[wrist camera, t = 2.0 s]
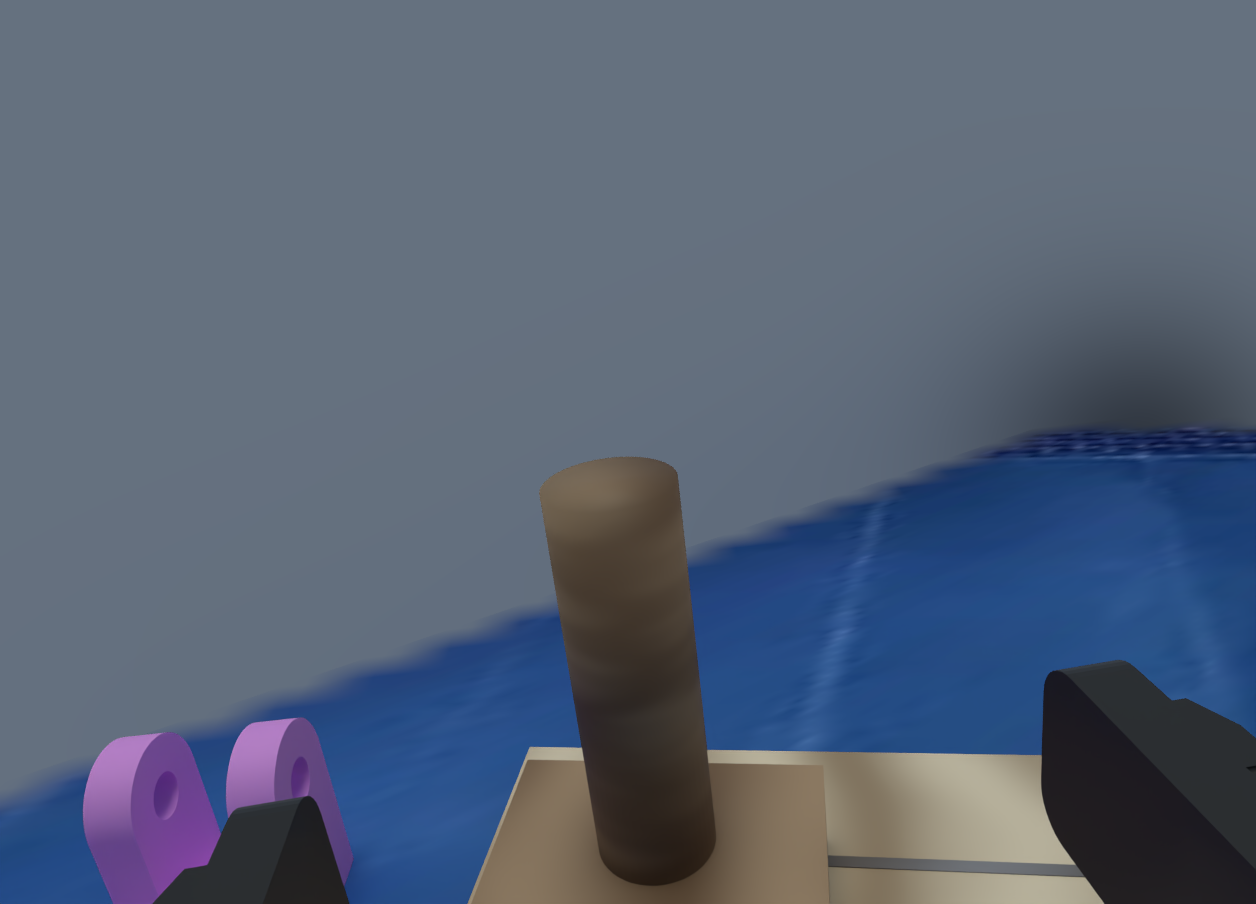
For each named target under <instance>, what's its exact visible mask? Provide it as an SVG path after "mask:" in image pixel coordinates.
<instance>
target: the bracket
mask: <svg viewBox="0 0 1256 904" xmlns="http://www.w3.org/2000/svg"><path fill="white" fill-rule="evenodd" d="M303 796H311V797H312V798H313V799H314V800H315V801H316V803H317V805H318V807H319V809H320V812H321V815H322V818H323V821H324V824H325V828H326V831H327V834H328V837H329V840H330V844H331V847H332V850H333V853H334V856H335V860H336V863H337V866H338V869H339V872H340V875H341V879H342V882H343V885H344V886H345V883H346V880H347V877H348V874H349V871H350V868H351V865H352V862H353V859H354V858H353V855H352V852H351V848H350V845H349V841H348V838H347V835H346V831H345V828H344V824H343V821H342V817H341V814H340V811H339V807H338V804H337V800H336V797H335V794H334V790H333V787H332V783H331V780H330V777H329V773H328V770H327V766H326V763H325V760H324V756H323V753H322V749H321V746H320V743H319V739H318V736H317V734H316V731H315V730H314V728H313V726H312V725H311V723H310V722H309V721H308V720H306V719H304V718H293V719H284V720H275V721H266V722H257V723H252V724H250V725H248V726H247V727H246V728H245V729H244V730H243V731H242V733H241V734H240V736H239V737H238V739H237V741H236V743H235V746H234V749H233V752H232V755H231V758H230V763H229V768H228V774H227V785H226V802H227V813H228V818H229V817H230V815H231V814H232V812H233V811H234V810H235V809H237V808H240V807H245V806H251V805H256V804H262V803H268V802H274V801H280V800H286V799H292V798H298V797H303ZM83 823H84V830H85V835H86V839H87V842H88V845H89V848H90V850H91V852H92V855H93V857H94V859H95V862H96V864H97V866H98V869H99V871H100V873H101V876H102V878H103V880H104V883H105V885H106V888H107V890H108V892H109V895H110V897H111V899H112V902H113V904H152V903H153V902H154V901H155V900H156V899H157V898H158V897H159V896H160V895H161V894H162V893H163V891H164V890H165V889H166V888H167V887H168V886H169V885H170V884H171V883H172V882H173V881H174V880H175V878H176V877H177V876H178V875H179V874H180V873H181V872H182V871H183V870H184V869H187V868H193V867H198V866H204V865H207V864H208V862H209V860H210V858H211V855H212V853H213V851H214V849H215V847H216V844H217V842H218V840H219V838H220V836H221V833H220V830H219V827H218V825H217V822H216V819H215V816H214V813H213V811H212V808H211V805H210V802H209V799H208V797H207V794H206V791H205V788H204V785H203V783H202V780H201V777H200V774H199V771H198V768H197V766H196V763H195V760H194V757H193V755H192V752H191V750H190V748H189V746H188V744H187V743H186V741H185V740H184V739H183V738H182V737H181V736H179V735H178V734H175V733H172V732H166V733H157V734H148V735H140V736H130V737H122V738H118V739H116V740H114V741H113V742H111V743H110V744H109V745H107V746H106V747H105V749H104V750H103V751H102V752H101V753H100V755H99V756H98V758H97V760H96V762H95V763H94V765H93V768H92V770H91V772H90V775H89V778H88V782H87V785H86V790H85V795H84V804H83Z"/></svg>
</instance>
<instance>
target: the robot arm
mask: <svg viewBox="0 0 1256 904" xmlns="http://www.w3.org/2000/svg"><path fill="white" fill-rule="evenodd" d="M1041 790H1042V797H1043V802H1044V806H1045V810H1046V813H1047V816H1048V819H1049V821H1050V824H1051V826H1052V829H1053V831H1054V833H1055V835H1056V837H1057V838H1058V840H1059V842H1060V843H1061V845H1062V846H1063V848H1064V849H1065V851H1066V852H1067V853H1068V855H1069V856H1070V857H1071V859H1072V860H1073V862H1074V863H1075V864H1076V866H1077V867H1078V868H1079V870H1080V871H1081V872H1082V874H1083V875H1084V877H1085V878H1086V879H1087V881H1088V882H1089V883H1090V885H1091V886H1092V888H1093V889H1094V890H1095V892H1096V893H1097V894H1098V896H1099V897H1100V898H1101V900H1102V901H1103V903H1104V904H1256V738H1255V737H1254V736H1252V735H1251V734H1250V733H1249V732H1248V731H1247V730H1245V729H1244V728H1243V727H1242V726H1241V725H1239V724H1237V723H1235V722H1233V721H1231V720H1229V719H1227V718H1225V717H1223V716H1221V715H1219V714H1217V713H1215V712H1213V711H1211V710H1209V709H1207V708H1205V707H1203V706H1201V705H1199V704H1197V703H1195V702H1192V701H1190V700H1188V699H1186V698H1185V699H1179V700H1173V701H1172V700H1171V699H1169V698H1168V697H1167V696H1166V695H1165V694H1164V693H1163V692H1162V691H1161V690H1159V689H1158V688H1157V687H1156V686H1155V685H1154V684H1153V683H1152V682H1151V681H1149V680H1148V679H1147V678H1146V677H1145V676H1144V675H1143V674H1142V673H1141V672H1139V671H1138V670H1137V669H1136V668H1135V667H1134V666H1132V665H1131V664H1130V663H1128V662H1126V661H1122V660H1115V661H1109V662H1103V663H1097V664H1091V665H1085V666H1079V667H1073V668H1068V669H1062V670H1056V671H1052V672H1050V673H1049V675H1048V676H1047V678H1046V680H1045V685H1044V700H1043V732H1042V764H1041ZM152 904H349V901H348V898H347V895H346V891H345V888H344V885H343V882H342V879H341V875H340V872H339V869H338V866H337V863H336V860H335V856H334V853H333V850H332V847H331V844H330V840H329V837H328V834H327V831H326V828H325V824H324V821H323V818H322V815H321V812H320V809H319V807H318V805H317V803H316V801H315V800H314V799H313V798H312V797H311V796H303V797H298V798H292V799H286V800H280V801H274V802H268V803H262V804H256V805H251V806H245V807H240V808H237V809H235V810H234V811H233V812H232V814H231V815H230V817H229V818H228V820H227V822H226V825H225V827H224V829H223V831H222V833H221V836H220V838H219V840H218V842H217V844H216V847H215V849H214V851H213V853H212V855H211V858H210V860H209V862H208V864H207V865H204V866H198V867H193V868H187V869H184V870H183V871H182V872H181V873H180V874H179V875H178V876H177V877H176V878H175V880H174V881H173V882H172V883H171V884H170V885H169V886H168V887H167V888H166V889H165V890H164V891H163V893H162V894H161V895H160V896H159V897H158V898H157V899H156V900H155V901H154V902H153V903H152Z"/></svg>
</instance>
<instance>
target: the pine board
mask: <svg viewBox="0 0 1256 904" xmlns="http://www.w3.org/2000/svg"><path fill="white" fill-rule="evenodd" d="M707 754H708V763H732V764H784V765H823V770H824V789H825V809H826V828H827V848H828V870H829V891H830V904H1104V903H1103V901H1102V900H1101V898H1100V897H1099V896H1098V894H1097V893H1096V892H1095V890H1094V889H1093V888H1092V886H1091V885H1090V883H1089V882H1088V881H1087V879H1086V878H1085V877H1084V875H1083V874H1082V872H1081V871H1080V870H1079V868H1078V867H1077V866H1076V864H1075V863H1074V862H1073V860H1072V859H1071V857H1070V856H1069V855H1068V853H1067V852H1066V851H1065V849H1064V848H1063V846H1062V845H1061V843H1060V842H1059V840H1058V838H1057V837H1056V835H1055V833H1054V831H1053V829H1052V826H1051V824H1050V821H1049V819H1048V816H1047V813H1046V810H1045V806H1044V802H1043V797H1042V790H1041V764H1042V755H985V754H924V753H862V752H801V751H740V750H707ZM527 760H575V761H584V758H583V752H582V748H556V747H530V748H529V750H528V753H527V755H526V758H525V761H524V763H523V766H522V768H521V771H520V773H519V776H518V778H517V781H516V783H515V786H514V788H513V791H512V793H511V796H510V798H509V801H508V803H507V806H506V808H505V811H504V813H503V816H502V818H501V821H500V824H499V826H498V829H497V831H496V834H495V836H494V839H493V841H492V844H491V846H490V849H489V851H488V854H487V856H486V859H485V861H484V864H483V866H482V869H481V871H480V874H479V876H478V879H477V881H476V884H475V886H474V889H473V892H472V894H471V897H470V899H469V902H468V904H471V903H472V900H473V897H474V895H475V892H476V890H477V887H478V885H479V882H480V880H481V877H482V875H483V872H484V869H485V867H486V864H487V862H488V859H489V857H490V854H491V852H492V849H493V847H494V844H495V841H496V839H497V836H498V834H499V831H500V829H501V826H502V824H503V821H504V819H505V816H506V813H507V811H508V808H509V806H510V803H511V801H512V798H513V796H514V793H515V791H516V788H517V785H518V783H519V780H520V778H521V775H522V773H523V770H524V768H525V765H526V763H527Z"/></svg>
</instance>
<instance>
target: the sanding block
mask: <svg viewBox="0 0 1256 904" xmlns="http://www.w3.org/2000/svg"><path fill="white" fill-rule="evenodd" d="M539 494H540V501H541V507H542V513H543V518H544V524H545V530H546V536H547V542H548V548H549V554H550V560H551V566H552V572H553V578H554V584H555V590H556V596H557V602H558V608H559V614H560V620H561V626H562V632H563V638H564V644H565V650H566V656H567V662H568V668H569V674H570V680H571V686H572V692H573V698H574V704H575V710H576V716H577V722H578V728H579V734H580V740H581V746H582V752H583V758H584V761H575V760H527V763H526V765H525V768H524V770H523V773H522V775H521V778H520V780H519V783H518V785H517V788H516V791H515V793H514V796H513V798H512V801H511V803H510V806H509V808H508V811H507V813H506V816H505V819H504V821H503V824H502V826H501V829H500V831H499V834H498V836H497V839H496V841H495V844H494V847H493V849H492V852H491V854H490V857H489V859H488V862H487V864H486V867H485V869H484V872H483V875H482V877H481V880H480V882H479V885H478V887H477V890H476V892H475V895H474V897H473V900H472V903H471V904H830V891H829V870H828V848H827V828H826V809H825V789H824V770H823V765H784V764H732V763H708V754H707V745H706V735H705V726H704V717H703V707H702V698H701V688H700V679H699V670H698V660H697V651H696V642H695V632H694V623H693V614H692V604H691V595H690V586H689V576H688V567H687V558H686V548H685V539H684V530H683V520H682V511H681V501H680V493H679V483H678V475H677V472H676V470H675V469H674V468H673V467H672V466H670V465H668V464H666V463H664V462H662V461H658V460H654V459H650V458H642V457H614V458H605V459H599V460H594V461H589V462H585V463H581V464H578V465H575V466H572V467H569V468H567V469H564V470H562V471H560V472H558V473H556V474H555V475H553V476H552V477H550V478H549V479H548V480H547V481H545V482H544V483H543V485H542V486H541V488H540V492H539Z"/></svg>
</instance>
